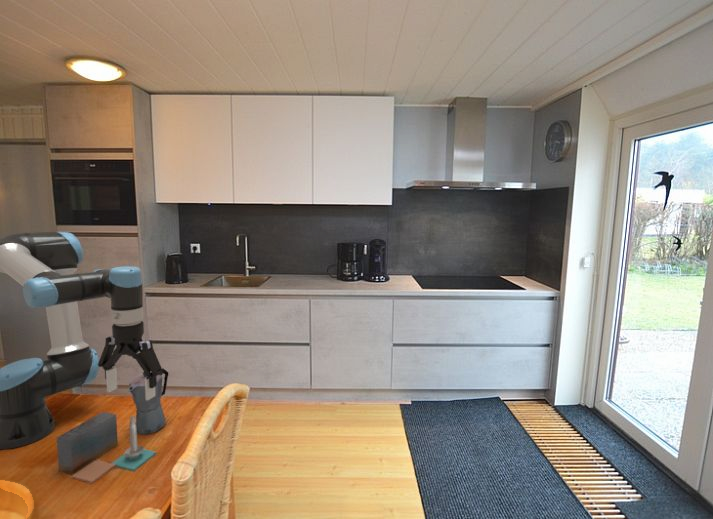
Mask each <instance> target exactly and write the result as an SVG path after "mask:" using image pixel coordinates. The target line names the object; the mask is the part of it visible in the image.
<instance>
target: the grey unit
mask: <svg viewBox="0 0 713 519" xmlns="http://www.w3.org/2000/svg"><path fill="white" fill-rule="evenodd" d="M117 422H118V421H117V413H111V412H108V411H102V412H100V413H98V414H96V415H94V416H93V417H91V418H89V419H87V420H86V421H84V422H82V423H80V424H78V425H77V426H75V427H73V428H71V429H70V430H67V431H65V432H64V433H62V434H60V435H59V436H57V437H56V448H57V450H56V451H57V461H58V462H57V463H58V471H59V472H61V473H65V474H69V475H72V476H73V475H74V474H76V473H77V472H79V471H80V470H82V469H83V468H84V467H86V466H87V465H89V464H90V463H92V462H93V461H95V460H98V459H99V458H100V457H101V456H103V455H104V454H106V453H107V452H109V451H111V450H112V449H113V448H115V447H116V446H117V445H119V442H118V424H117Z"/></svg>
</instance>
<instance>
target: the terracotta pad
mask: <svg viewBox="0 0 713 519" xmlns="http://www.w3.org/2000/svg"><path fill="white" fill-rule="evenodd" d="M111 463H112V462H111ZM111 463H110V462H107V461H102V460H99V459H96V460H94V461H93V462H91V463H90V464H88V465H87V466H85V467H84V468H82V469H81V470H79V471H78V472H76V473H75V474H73V475H72V476H71V479H74V480H78V481H82V482H86V483H89V484H94V483H96V481H98V480H99V479H101V478H102V477H103V476H105V475H107V474H108V473H109V472H111V470H113V469H114V468H116V467H115V464H111Z"/></svg>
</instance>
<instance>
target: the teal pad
mask: <svg viewBox="0 0 713 519" xmlns="http://www.w3.org/2000/svg"><path fill="white" fill-rule="evenodd" d="M156 454H157V451H154V450H150V449H146V448H143V452H142V453H141V454H139V458H137V459H135V460H129V457H125V456H124V454H123V455H121V456H120V457H118V458H117V459H115V460H114V461H113V462H111V464H115V467H114V468H120V469H124V470H128V471H131V472H136V470H138V469H139V468H140V467H141V466H143V465H144V464H146V462H148V461H149V460H150V459H152V458H153V457H154V456H155V455H156Z"/></svg>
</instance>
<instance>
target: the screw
mask: <svg viewBox="0 0 713 519" xmlns="http://www.w3.org/2000/svg"><path fill="white" fill-rule="evenodd" d="M136 428H137V427H136V415H131V416H130V417H129V428H128V430H129V447H128V448H127V449H126V450H125V451H124V453H123V455H124V456H125V457H129V460H135V459H137V458H139V454H141V453H142V452H143V449H144V447H143V446H142V445H138V433H137V431H136V430H137V429H136Z"/></svg>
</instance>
